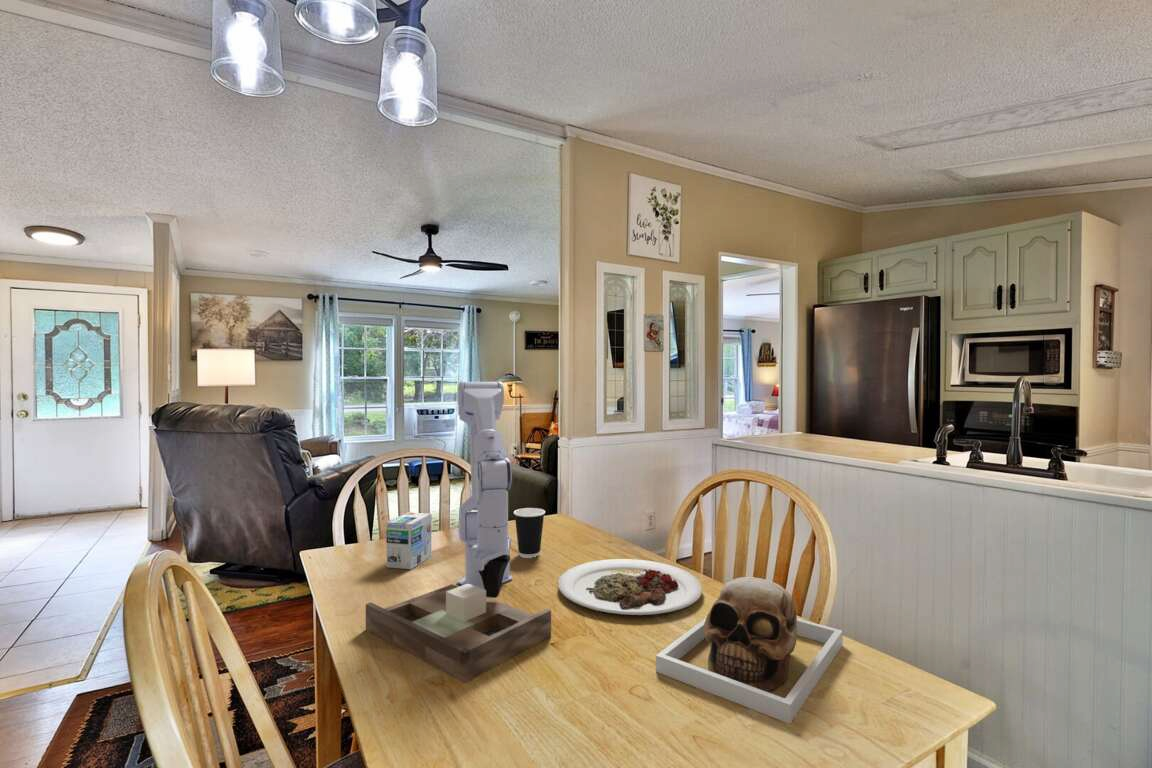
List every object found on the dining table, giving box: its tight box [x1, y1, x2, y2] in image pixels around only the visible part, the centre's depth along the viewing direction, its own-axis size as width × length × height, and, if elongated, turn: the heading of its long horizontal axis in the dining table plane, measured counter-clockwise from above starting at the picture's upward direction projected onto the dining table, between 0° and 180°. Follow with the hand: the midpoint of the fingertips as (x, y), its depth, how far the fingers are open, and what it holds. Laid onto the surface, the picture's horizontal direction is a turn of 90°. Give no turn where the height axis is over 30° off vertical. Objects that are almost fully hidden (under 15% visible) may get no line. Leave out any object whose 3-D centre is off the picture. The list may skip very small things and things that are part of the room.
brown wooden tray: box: [365, 584, 552, 684], centre depth 96 cm, size 19×27×4 cm
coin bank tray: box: [655, 616, 843, 725], centre depth 88 cm, size 27×20×2 cm
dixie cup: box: [513, 507, 546, 559], centre depth 138 cm, size 8×8×11 cm
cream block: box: [446, 584, 486, 622], centre depth 98 cm, size 5×5×4 cm
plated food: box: [557, 558, 703, 616], centre depth 116 cm, size 30×30×3 cm
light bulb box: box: [385, 511, 433, 570], centre depth 133 cm, size 11×7×11 cm, turn 168°
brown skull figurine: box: [704, 576, 798, 693], centre depth 86 cm, size 16×18×14 cm
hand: (492, 595), depth 104 cm, fingers closed
